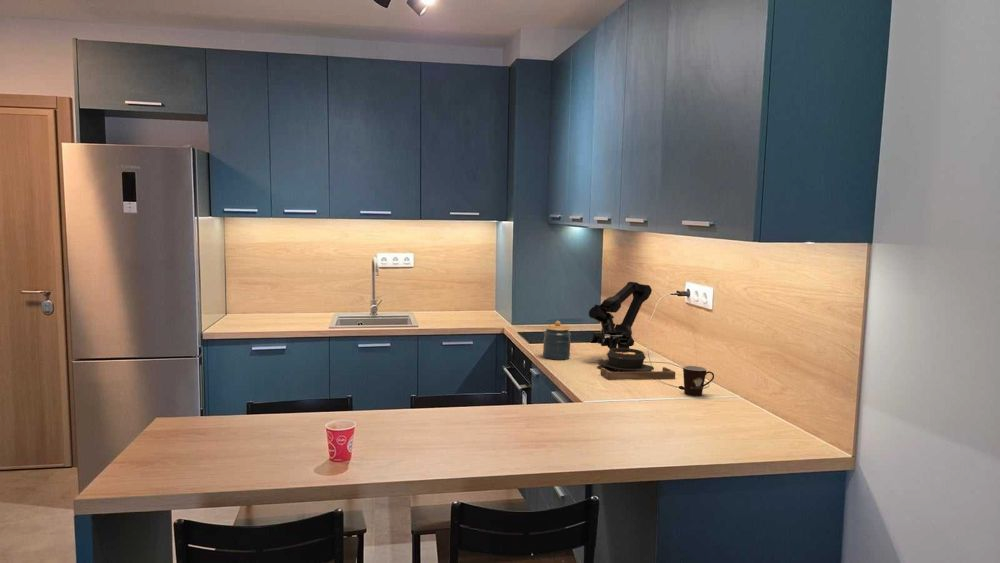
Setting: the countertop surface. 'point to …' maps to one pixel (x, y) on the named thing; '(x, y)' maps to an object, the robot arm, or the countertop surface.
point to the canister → (557, 342)
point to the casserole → (626, 360)
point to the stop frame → (639, 374)
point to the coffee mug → (694, 380)
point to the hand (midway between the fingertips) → (614, 353)
